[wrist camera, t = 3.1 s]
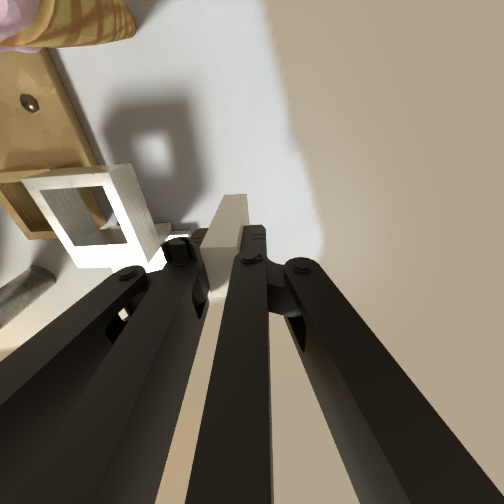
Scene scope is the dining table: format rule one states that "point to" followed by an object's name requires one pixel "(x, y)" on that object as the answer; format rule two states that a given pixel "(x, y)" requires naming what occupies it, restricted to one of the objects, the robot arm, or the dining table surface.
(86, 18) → the ice cream cone
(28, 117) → the fixed leaf
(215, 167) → the dining table surface
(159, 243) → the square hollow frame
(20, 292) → the hinge pin
